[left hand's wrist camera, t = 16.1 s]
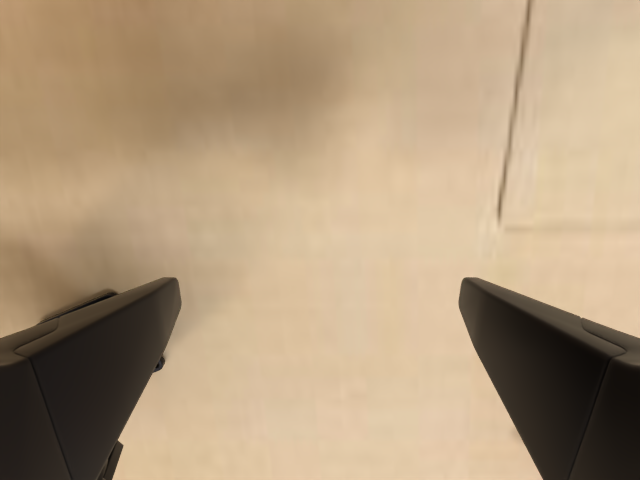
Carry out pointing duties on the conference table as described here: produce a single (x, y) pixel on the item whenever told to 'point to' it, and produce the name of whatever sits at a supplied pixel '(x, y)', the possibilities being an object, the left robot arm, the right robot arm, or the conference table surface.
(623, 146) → the conference table surface
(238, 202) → the conference table surface
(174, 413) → the conference table surface
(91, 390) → the left robot arm
